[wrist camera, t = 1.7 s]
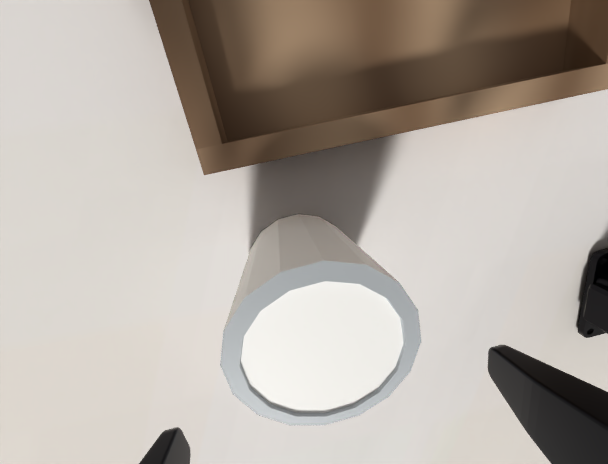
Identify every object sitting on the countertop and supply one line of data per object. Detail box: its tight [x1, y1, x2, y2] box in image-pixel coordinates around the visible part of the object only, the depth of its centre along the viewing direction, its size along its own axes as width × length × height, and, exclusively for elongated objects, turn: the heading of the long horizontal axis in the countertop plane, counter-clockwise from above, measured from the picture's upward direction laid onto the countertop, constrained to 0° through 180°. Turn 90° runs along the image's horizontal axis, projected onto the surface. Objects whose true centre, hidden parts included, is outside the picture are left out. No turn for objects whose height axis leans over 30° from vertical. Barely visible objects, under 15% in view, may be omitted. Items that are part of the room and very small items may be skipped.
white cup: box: [220, 214, 421, 425], centre depth 13 cm, size 7×7×7 cm
